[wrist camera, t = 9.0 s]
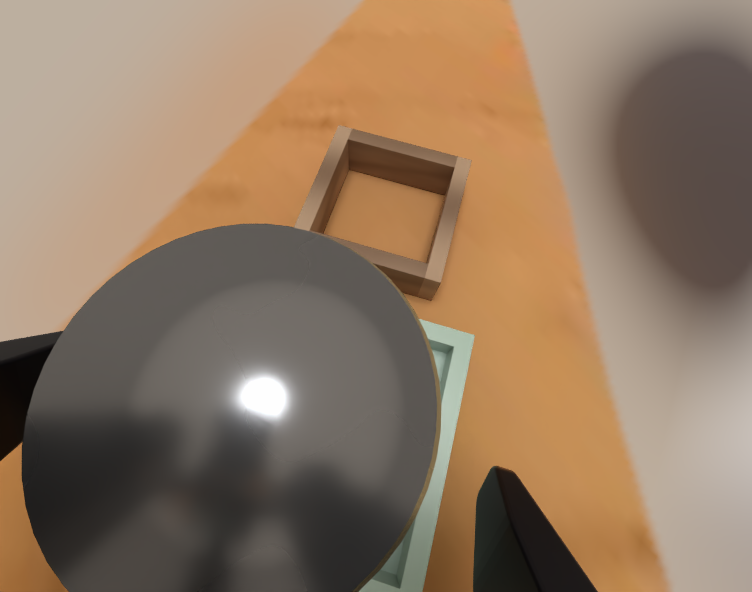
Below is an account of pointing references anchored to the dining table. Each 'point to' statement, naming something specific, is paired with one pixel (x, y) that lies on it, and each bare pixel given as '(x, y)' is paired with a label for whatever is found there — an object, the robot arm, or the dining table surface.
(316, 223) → the holder
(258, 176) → the dining table surface
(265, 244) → the grey cylindrical piece
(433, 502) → the tray
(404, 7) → the dining table surface
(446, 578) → the dining table surface
